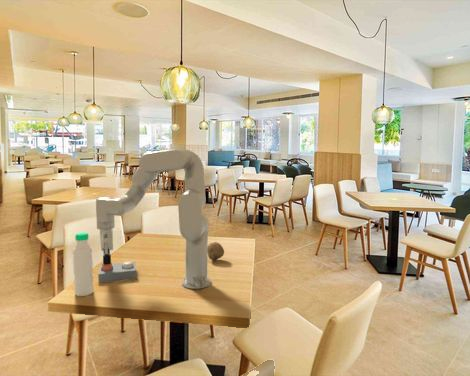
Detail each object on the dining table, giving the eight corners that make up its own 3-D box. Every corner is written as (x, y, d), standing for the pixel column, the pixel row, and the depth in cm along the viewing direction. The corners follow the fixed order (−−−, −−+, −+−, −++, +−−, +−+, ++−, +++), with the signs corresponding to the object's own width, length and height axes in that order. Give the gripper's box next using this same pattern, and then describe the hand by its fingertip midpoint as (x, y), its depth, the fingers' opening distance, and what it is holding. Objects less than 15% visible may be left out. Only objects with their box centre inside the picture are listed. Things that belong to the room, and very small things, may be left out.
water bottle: (88, 287, 142) (86, 230, 138) (96, 292, 137) (94, 233, 134) (71, 293, 136) (68, 233, 133) (79, 298, 132) (77, 237, 129)
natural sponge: (224, 258, 182) (224, 240, 181) (223, 263, 173) (223, 245, 172) (207, 257, 182) (208, 239, 181) (206, 263, 173) (206, 244, 172)
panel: (136, 278, 152) (136, 270, 152) (98, 282, 147) (98, 274, 146) (135, 269, 163) (134, 261, 163) (99, 272, 158) (99, 264, 157)
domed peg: (132, 273, 155) (132, 264, 154) (123, 274, 154) (122, 265, 153) (132, 270, 159) (132, 261, 159) (122, 271, 158) (122, 262, 157)
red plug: (112, 274, 152) (112, 265, 151) (101, 275, 151) (101, 266, 150) (112, 271, 156) (112, 261, 156) (102, 272, 155) (102, 262, 154)
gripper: (114, 228, 145) (115, 268, 147) (114, 220, 159) (115, 257, 161) (95, 229, 142) (97, 270, 144) (97, 221, 156) (99, 259, 158)
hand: (107, 263), depth 153 cm, fingers closed
